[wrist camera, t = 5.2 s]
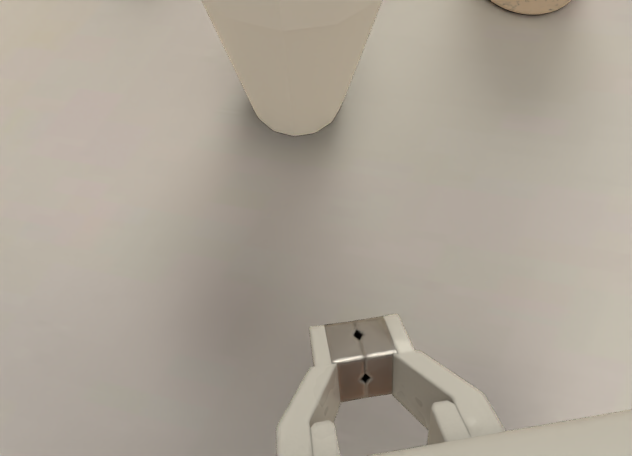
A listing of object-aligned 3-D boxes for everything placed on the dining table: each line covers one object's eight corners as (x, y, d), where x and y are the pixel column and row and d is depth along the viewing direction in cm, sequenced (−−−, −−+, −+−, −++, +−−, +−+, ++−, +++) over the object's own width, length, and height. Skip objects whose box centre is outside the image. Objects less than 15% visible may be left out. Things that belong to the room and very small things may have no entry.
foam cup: (350, 31, 27) (388, -226, 14) (378, 144, 25) (452, -47, 12) (220, 48, 26) (142, -206, 14) (236, 166, 24) (159, -13, 11)
